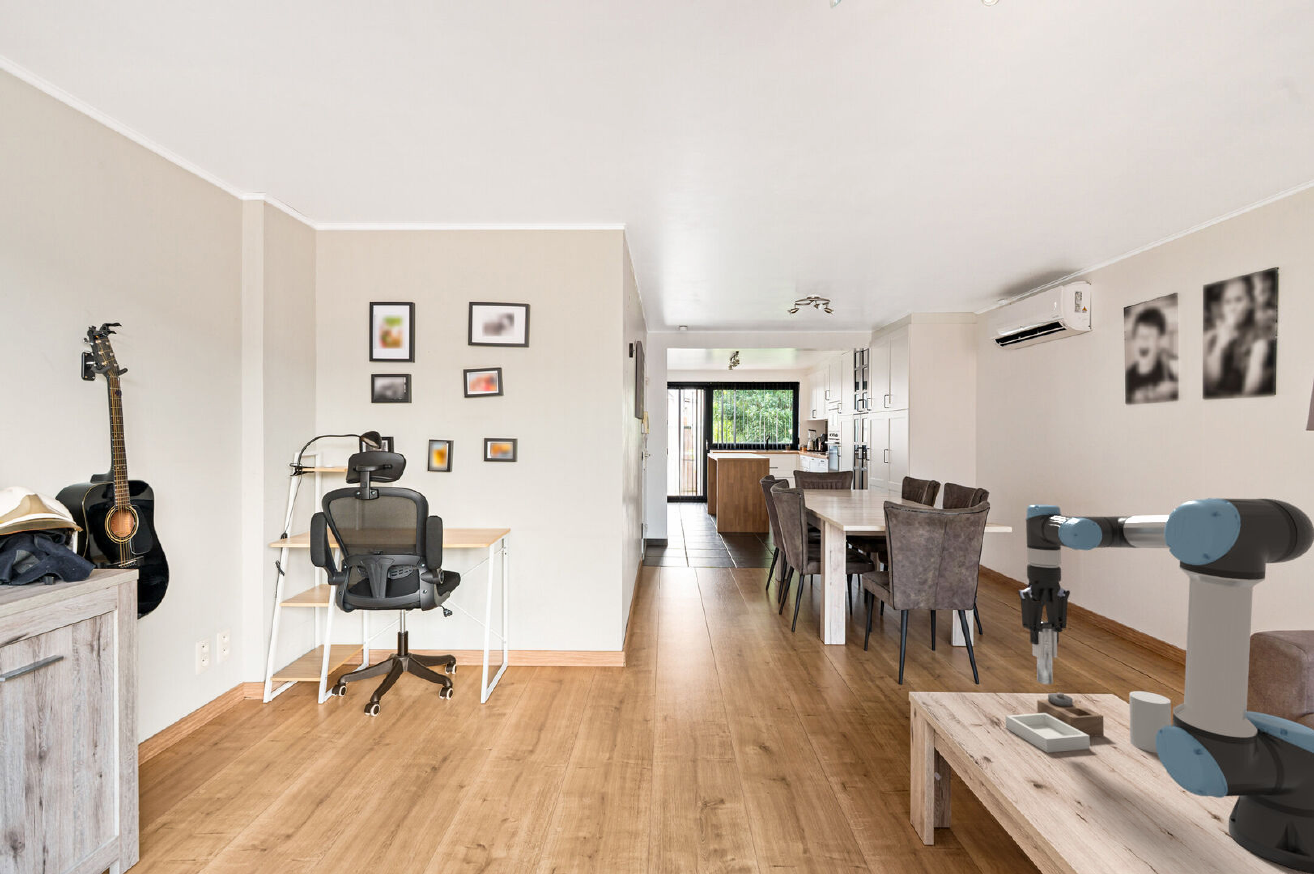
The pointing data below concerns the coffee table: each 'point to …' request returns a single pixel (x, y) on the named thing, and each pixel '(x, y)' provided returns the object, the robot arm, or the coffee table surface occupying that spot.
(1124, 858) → the coffee table surface
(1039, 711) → the block
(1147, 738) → the white cylinder
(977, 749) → the coffee table surface
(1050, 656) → the pin
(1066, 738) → the tray
